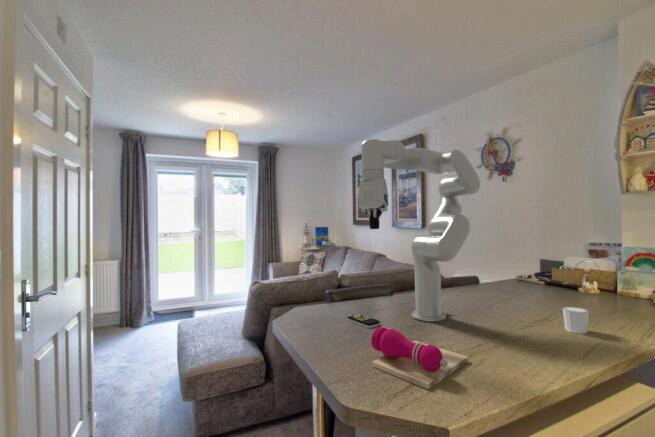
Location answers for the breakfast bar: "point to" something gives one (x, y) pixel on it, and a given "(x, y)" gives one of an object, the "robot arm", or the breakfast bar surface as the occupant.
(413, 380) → the cutting board
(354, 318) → the remote control
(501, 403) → the breakfast bar surface
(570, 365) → the breakfast bar surface
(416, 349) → the pepper mill
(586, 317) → the white tapered cylinder
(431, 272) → the robot arm
